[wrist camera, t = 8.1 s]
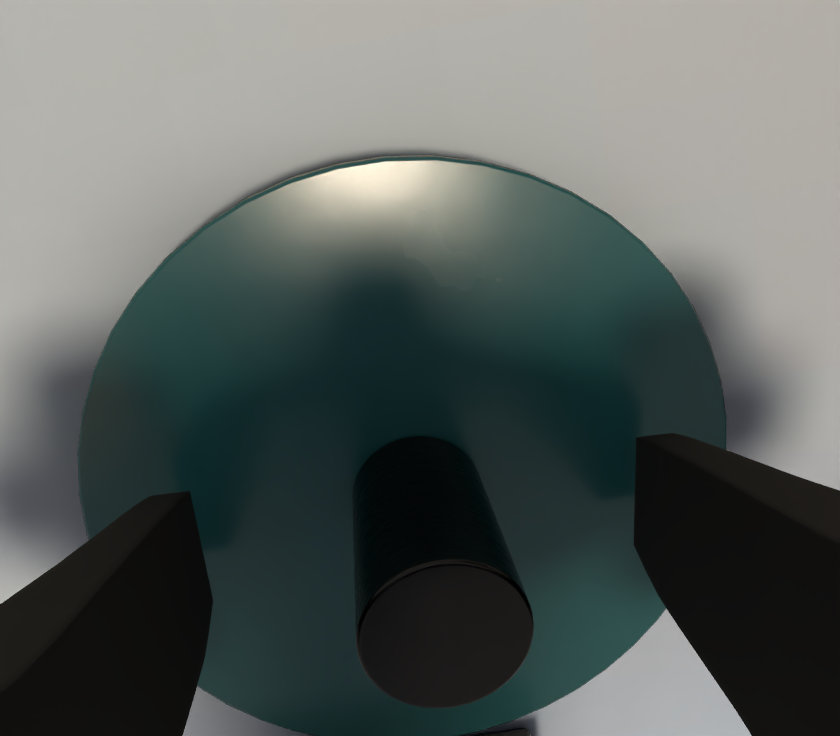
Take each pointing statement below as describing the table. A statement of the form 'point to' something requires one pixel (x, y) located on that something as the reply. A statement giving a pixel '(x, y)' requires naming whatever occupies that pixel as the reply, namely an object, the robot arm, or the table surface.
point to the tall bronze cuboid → (511, 733)
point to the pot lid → (403, 439)
